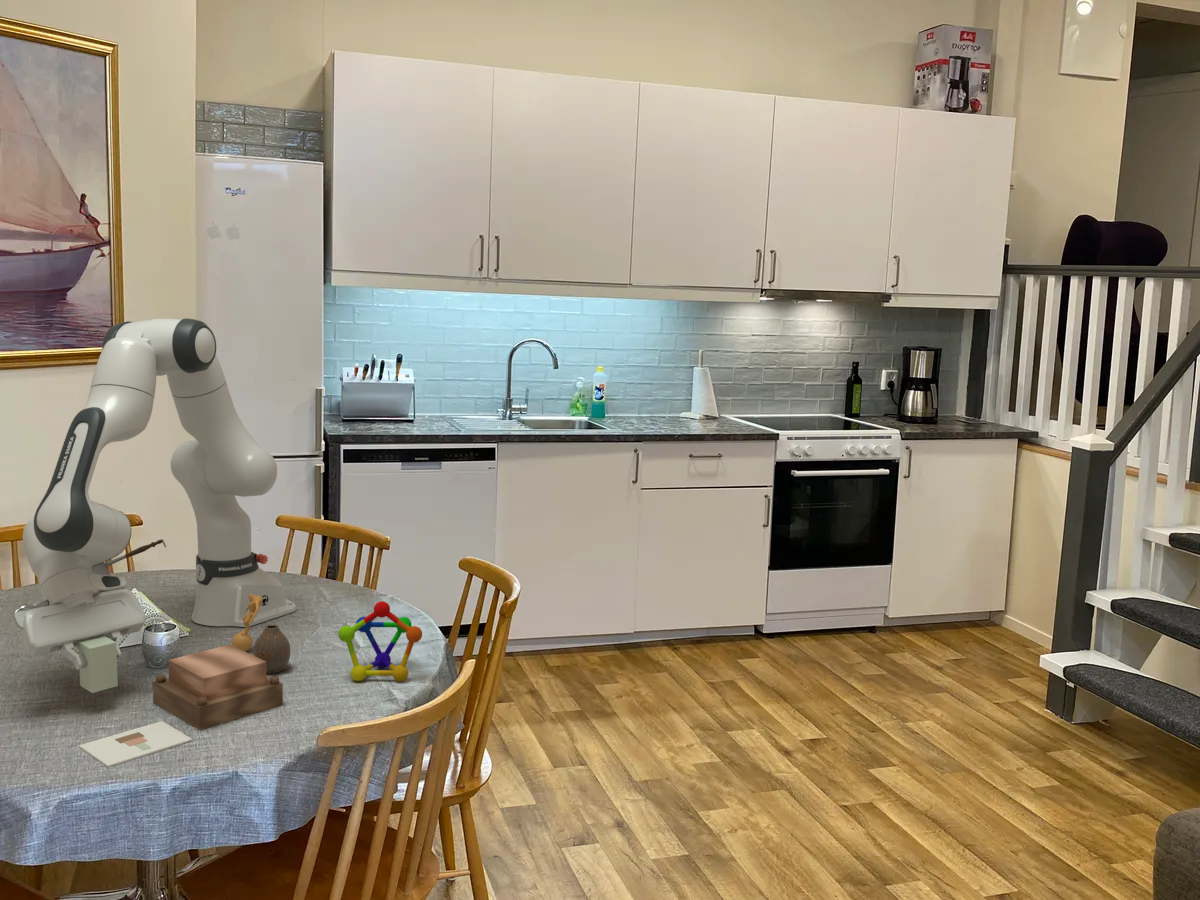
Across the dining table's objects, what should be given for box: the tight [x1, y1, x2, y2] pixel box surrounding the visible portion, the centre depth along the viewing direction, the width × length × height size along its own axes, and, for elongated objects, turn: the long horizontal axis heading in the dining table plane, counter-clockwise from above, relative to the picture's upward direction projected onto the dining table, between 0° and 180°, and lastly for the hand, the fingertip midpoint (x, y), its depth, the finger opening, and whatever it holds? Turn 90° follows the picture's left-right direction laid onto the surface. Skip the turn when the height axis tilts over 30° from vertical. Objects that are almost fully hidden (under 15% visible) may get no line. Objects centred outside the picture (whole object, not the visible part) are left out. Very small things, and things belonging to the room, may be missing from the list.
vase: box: [252, 624, 291, 674], centre depth 212 cm, size 7×7×9 cm
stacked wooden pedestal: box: [152, 644, 284, 731], centre depth 195 cm, size 16×16×8 cm
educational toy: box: [337, 600, 423, 682], centre depth 212 cm, size 16×13×15 cm
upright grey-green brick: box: [77, 636, 119, 694], centre depth 191 cm, size 4×4×8 cm
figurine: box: [231, 594, 263, 652], centre depth 221 cm, size 8×6×12 cm
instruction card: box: [78, 720, 193, 768], centre depth 178 cm, size 14×10×1 cm
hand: (99, 662), depth 190 cm, fingers closed on upright grey-green brick, 4 cm apart
